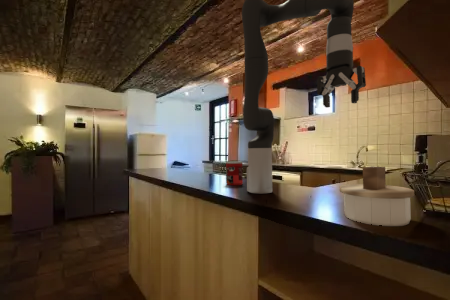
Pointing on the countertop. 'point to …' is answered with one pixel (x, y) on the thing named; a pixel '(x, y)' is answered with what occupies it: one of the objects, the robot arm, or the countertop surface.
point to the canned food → (234, 173)
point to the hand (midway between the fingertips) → (340, 105)
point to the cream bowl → (377, 210)
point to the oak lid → (376, 186)
